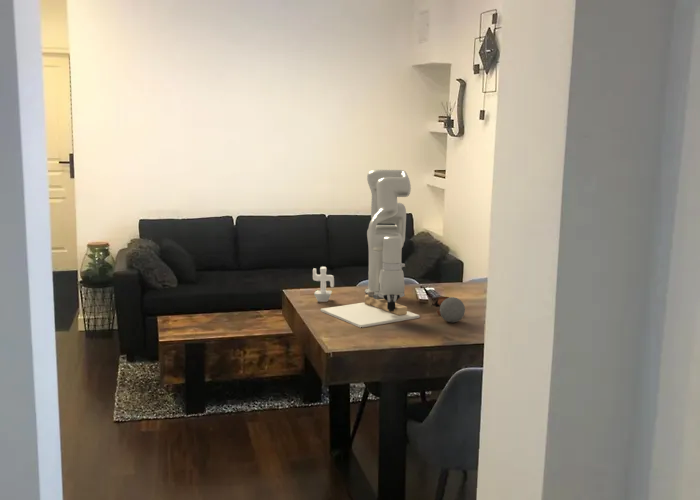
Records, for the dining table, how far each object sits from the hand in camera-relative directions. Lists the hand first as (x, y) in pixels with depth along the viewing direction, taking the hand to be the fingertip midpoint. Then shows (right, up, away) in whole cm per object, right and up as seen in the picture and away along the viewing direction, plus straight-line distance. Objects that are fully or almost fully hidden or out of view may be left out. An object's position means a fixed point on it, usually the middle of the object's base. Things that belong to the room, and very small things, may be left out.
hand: (391, 310), depth 308 cm
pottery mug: (+23, -2, +8) cm, 24 cm away
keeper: (-3, 0, +12) cm, 13 cm away
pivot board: (-9, -2, +5) cm, 10 cm away
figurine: (-29, +2, +29) cm, 41 cm away
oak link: (-2, 0, +10) cm, 11 cm away
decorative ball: (+24, -4, -6) cm, 25 cm away
